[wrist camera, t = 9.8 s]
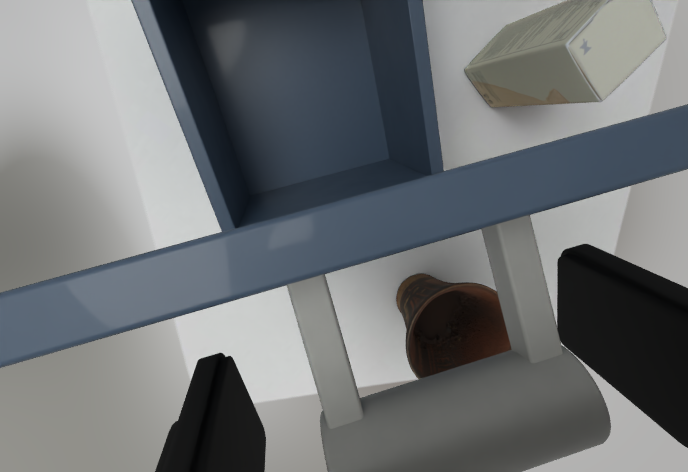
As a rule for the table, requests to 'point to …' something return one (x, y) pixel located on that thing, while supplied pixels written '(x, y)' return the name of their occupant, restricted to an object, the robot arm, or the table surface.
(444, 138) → the table surface
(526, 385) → the lid
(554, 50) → the box
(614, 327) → the robot arm
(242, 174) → the storage bin
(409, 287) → the cup
